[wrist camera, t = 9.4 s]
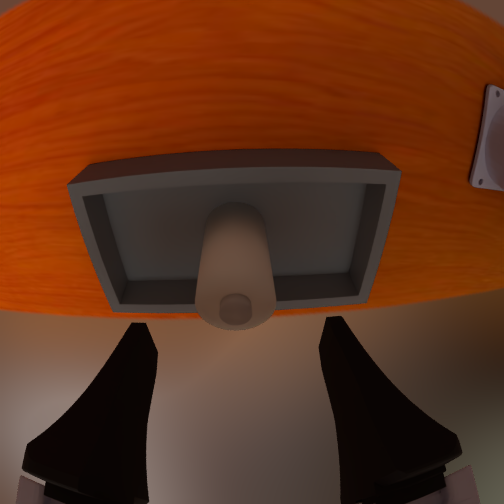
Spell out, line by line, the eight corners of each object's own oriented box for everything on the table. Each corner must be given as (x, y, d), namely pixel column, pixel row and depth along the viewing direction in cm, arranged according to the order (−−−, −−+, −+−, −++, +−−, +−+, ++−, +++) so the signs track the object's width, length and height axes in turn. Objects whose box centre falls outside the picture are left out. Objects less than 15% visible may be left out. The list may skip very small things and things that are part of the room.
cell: (265, 200, 17) (280, 281, 12) (264, 251, 19) (275, 338, 14) (203, 203, 17) (187, 285, 11) (208, 253, 19) (199, 340, 14)
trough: (378, 152, 16) (401, 171, 14) (354, 274, 22) (366, 303, 19) (89, 164, 16) (66, 184, 13) (123, 283, 21) (113, 312, 19)
